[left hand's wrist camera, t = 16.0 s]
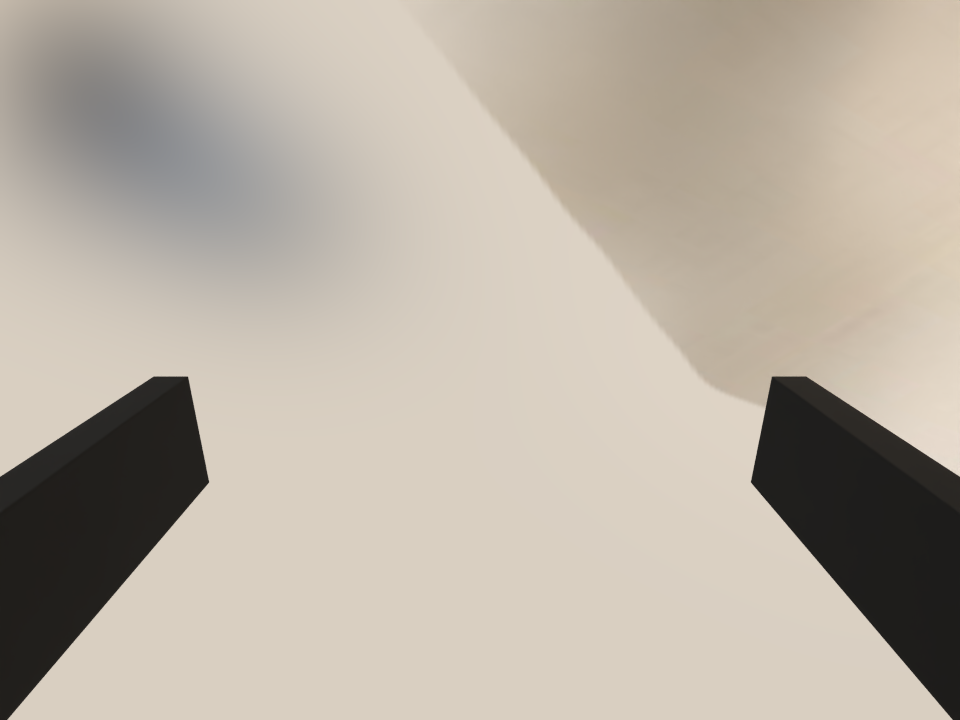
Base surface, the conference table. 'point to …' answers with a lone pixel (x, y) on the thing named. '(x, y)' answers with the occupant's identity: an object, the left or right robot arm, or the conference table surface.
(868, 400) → the conference table surface
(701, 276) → the conference table surface
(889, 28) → the conference table surface
